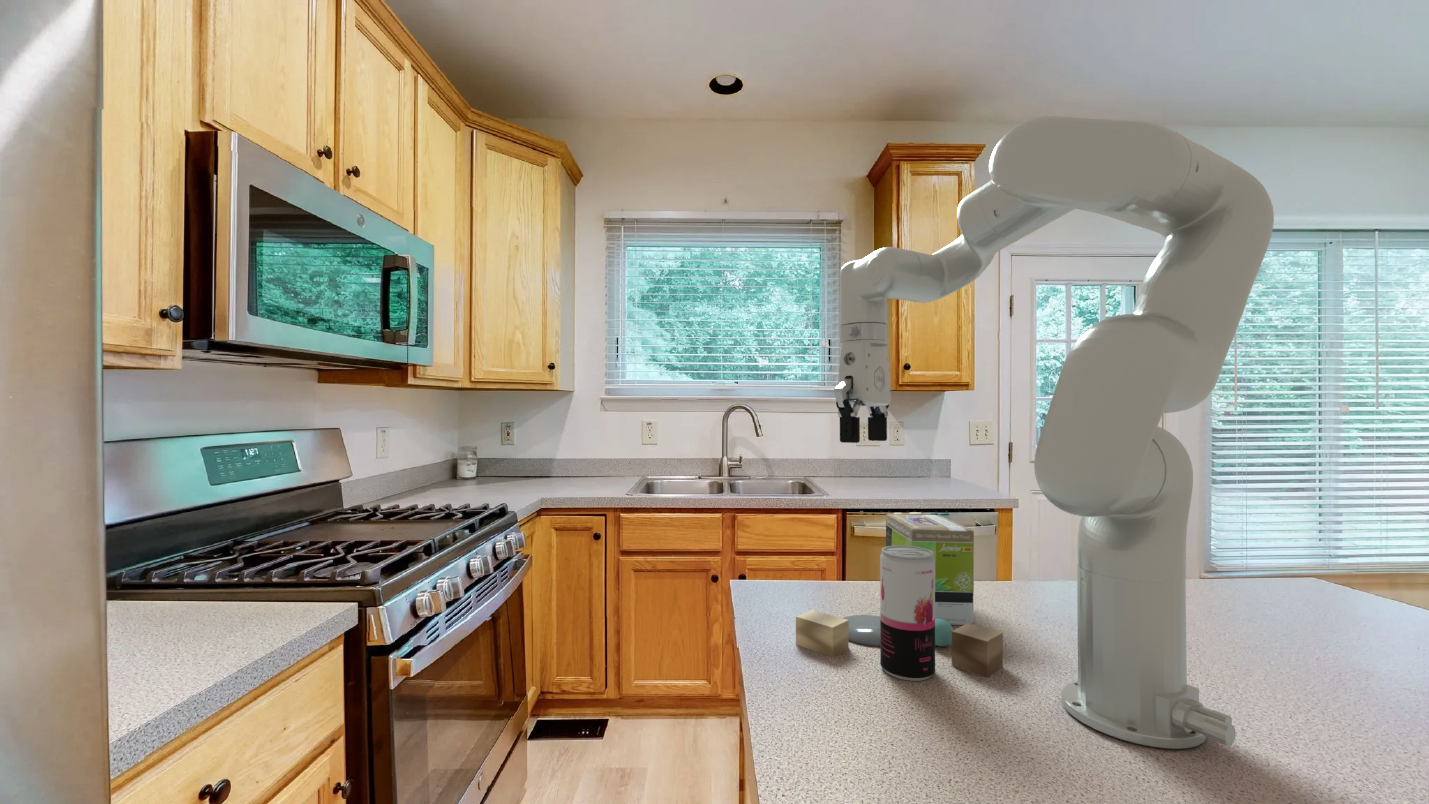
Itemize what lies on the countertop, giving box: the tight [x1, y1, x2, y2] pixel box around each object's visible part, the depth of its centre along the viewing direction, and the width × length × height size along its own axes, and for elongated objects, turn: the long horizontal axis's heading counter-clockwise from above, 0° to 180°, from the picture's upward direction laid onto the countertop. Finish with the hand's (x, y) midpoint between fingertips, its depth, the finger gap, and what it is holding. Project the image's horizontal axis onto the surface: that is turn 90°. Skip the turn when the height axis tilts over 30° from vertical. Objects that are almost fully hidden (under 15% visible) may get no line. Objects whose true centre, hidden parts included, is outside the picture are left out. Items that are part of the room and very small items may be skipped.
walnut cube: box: [951, 623, 1004, 679], centre depth 75 cm, size 4×4×4 cm
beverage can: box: [879, 545, 936, 682], centre depth 74 cm, size 7×7×15 cm
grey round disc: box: [842, 614, 880, 647], centre depth 87 cm, size 11×11×1 cm
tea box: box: [885, 513, 975, 626], centre depth 97 cm, size 15×10×15 cm, turn 179°
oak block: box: [795, 609, 850, 658], centre depth 82 cm, size 6×4×4 cm, turn 46°
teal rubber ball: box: [935, 619, 954, 647], centre depth 82 cm, size 4×4×4 cm
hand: (864, 441), depth 96 cm, fingers open, 9 cm apart
